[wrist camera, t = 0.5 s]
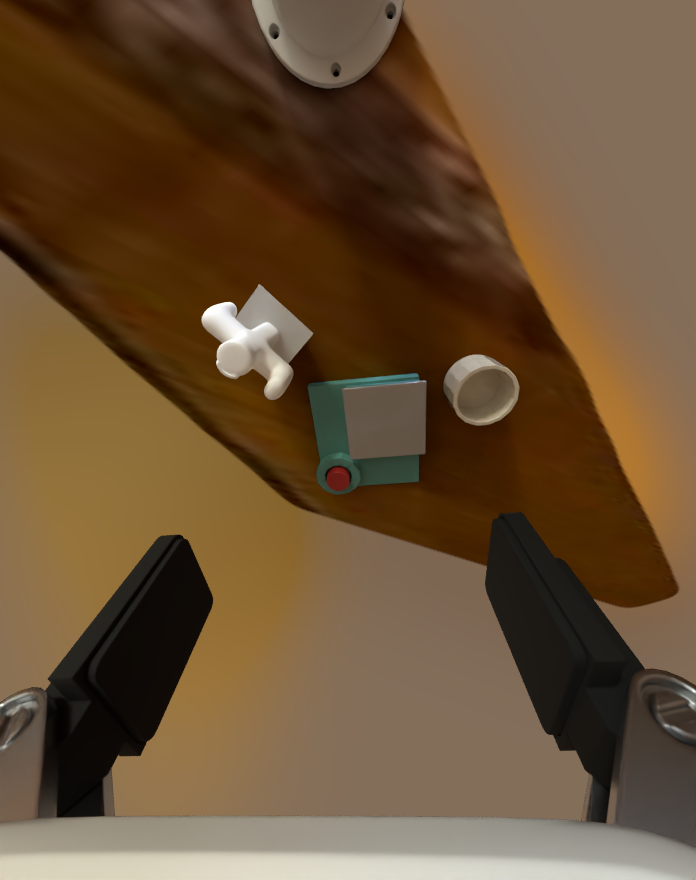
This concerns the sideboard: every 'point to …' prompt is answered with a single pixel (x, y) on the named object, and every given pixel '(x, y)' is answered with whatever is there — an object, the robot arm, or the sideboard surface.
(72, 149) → the sideboard surface
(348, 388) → the weighing plate
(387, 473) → the scale
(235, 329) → the figurine
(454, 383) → the cup
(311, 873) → the robot arm
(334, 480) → the tare button
